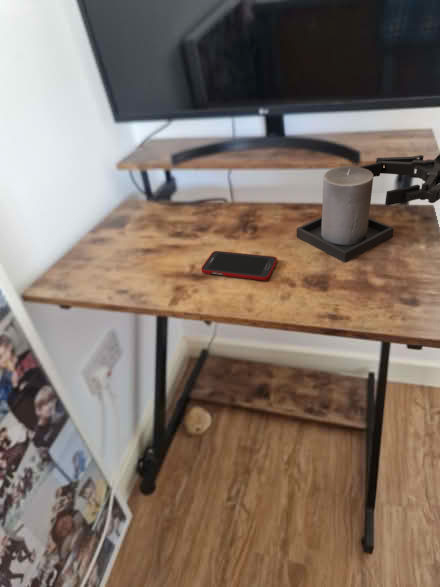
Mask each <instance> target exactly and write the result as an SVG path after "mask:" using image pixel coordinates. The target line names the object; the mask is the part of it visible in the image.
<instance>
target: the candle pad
mask: <svg viewBox="0 0 440 587" xmlns="http://www.w3.org/2000/svg"><path fill="white" fill-rule="evenodd" d="M321 226H322V216H320V217H318V218H315V219H313V220H311V221H309V222H307V223H305V224H303V225H301V226H298V227H296V238H297V239H300V240H301V241H303V242H305V243H307V244H309V245H310V246H313V247H314V248H316V249H317V250H321V252H324V253H326V254H328V255H329V256H331V257H333V258H334V259H335V258H336V259H337V260H338V261H341V262H342V263H346V262H348V261H350V260H352V259H354V258H356V257H358V256H360V255H362V254H363V253H366V252H367V251H369V250H371V249H373V248H374V247H376V246H379V245H380V244H382V243H384V242H387V241H388V240H390V239H391V238H393V236H394V229H395V228H394V227H393V226H390V225H388V224H385V223H383V222H381V221H378V220H376V219H373V218H371V217H369V220H368V230H367V236H366V238H365V239H364V240H363V241H362V242H360V243H358V244H354V245H348V246H345V245H339V244H332V243H329V242H327V241H325V240H324V239H323V238H322V236H321Z"/></svg>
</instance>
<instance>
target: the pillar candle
mask: <svg viewBox="0 0 440 587" xmlns="http://www.w3.org/2000/svg"><path fill="white" fill-rule="evenodd" d="M322 184H323V185H322V204H321V206H322V207H321V217H322V226H321V236H322V238H323V239H324V240H325V241H327V242H329V243H332V244H339V245H345V246H348V245H354V244H358V243H360V242H362V241H363V240H364V239H365V238H366V236H367V230H368V220H369V218H370V210H371V202H372V192H373V185H374V177H373V173H372V172H371V171H369V170H367V169H364V168H361V166H352V165H351V166H350V165H349V166H337V167H333V168H331V169H329V170H327V171H326V172H325V173H324V174H323V182H322Z"/></svg>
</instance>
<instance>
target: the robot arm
mask: <svg viewBox="0 0 440 587" xmlns="http://www.w3.org/2000/svg"><path fill="white" fill-rule="evenodd" d="M383 165H385V168H383ZM360 167H361V168H364V169H367V170H369V171H371V172H372V173H373V178H375V177H379V176H381V174H383V175H398V176H399V175H401V176H409V178H411V179H412V178H413V179H420V180H422V181H423V182H421V183H422V184H421V185H420V184H413V185H409V186H405V187H401V188H395V189H391V190H387V191H386V194H385V201H384V205H385V206H387V207H389V206H392V205H397V204H402V203H406V202H412V201H416V200H420V201H426V200H427V201H428V203H430V204H435V203H436V202H438V201H439V200H440V153H439V154H438V155H437V156H436V157H435V158H434V159H426V160H424V155H422V154H420V155H412V156H389V157H376V159H375V163H369V164H366V165H361V166H360ZM415 170H416V171H415Z"/></svg>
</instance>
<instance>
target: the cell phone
mask: <svg viewBox="0 0 440 587" xmlns="http://www.w3.org/2000/svg"><path fill="white" fill-rule="evenodd" d="M277 263H278V258H277V257H276V256H273V255H272V256H271V255H261V254H254V253H253V254H252V253H243V252H233V251H222V250H214V251H213V252H211V254H210V255H209V256H208V258H207V259H206V261H205V262H204V263H203V265H201V266H202V267H201V269H200V270H201V273H202V274H207V275H218V276H223V277H230V278H231V277H232V278H238V279H239V278H240V279H247V280H248V279H249V280H255V281H268V280H269V279H270V278H271V277H272V274H273V270H274V269H275V267H276V265H277Z"/></svg>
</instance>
